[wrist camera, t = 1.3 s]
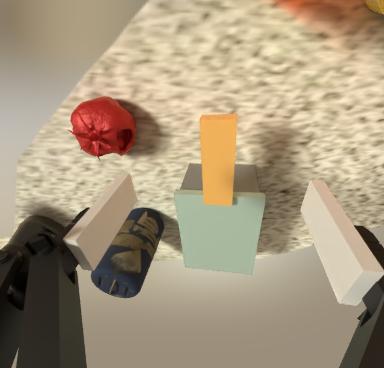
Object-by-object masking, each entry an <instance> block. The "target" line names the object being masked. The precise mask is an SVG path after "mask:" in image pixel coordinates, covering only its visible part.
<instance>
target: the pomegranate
mask: <svg viewBox="0 0 384 368" xmlns="http://www.w3.org/2000/svg"><path fill="white" fill-rule="evenodd" d="M71 123H72V125H73V132H72V131H70V130H69V131H70V132H71V133H72V134H73V135H75V137H76V139H77V140H78V142H79V144H80V146H81V149H82V150H83V151H85V152H86V153H89V154H91V155H93V156H97V157H98V158H99V156H103V155H105V154H110V153H117V154H119V155H120V156H123V155H124V154H126V153H127V152H128V151H129V150H130V149H131V147H132V145H133V143H134V140H135V137H136V125H135V120H134V118H133V116H132V115H131V114H130V113H129V112H128V111H127V110H126V109H124V108H123V107H121V106H120V105H119V104H118V102H117V101H116V100H114V99H112V98H110V97H100V98H96V99H93V100H89V101H86V102H83V103H81V104H80V105H78V107H77V108H76V109H75V110H74V111H73V113H72V115H71ZM99 160H100V159H99Z"/></svg>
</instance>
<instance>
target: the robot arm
mask: <svg viewBox="0 0 384 368" xmlns="http://www.w3.org/2000/svg"><path fill="white" fill-rule="evenodd" d="M137 201H138V200H137V197H136V193H135V190H134V187H133V183H132V180H131V176H130V173H121V174H120V175H119V176H118V177H117V178H116V179H115V180H114V182H113V183H112V184H111V185H110V186H109V187H108V188H107V189H106V191H105V192H104V193H103V194H102V195H101V196H100V197H99V199H98V200H97V201H96V202H95V203H94V204H93V205H92V206H91V208H86V209H84V210H83V211H81V212H80V213H79V214H78V215H77V216H76V217H75V219H73V221H72V222H71V223H70V224H69V225H68V226H67V227H66V228H63V227H62V226H61V225H59V224H58V223H56V222H54V221H52V220H50V219H48V218H45V217H41V216H30V217H28V218H26V219H25V220H24V221H23V222H22V223H21V224H20V225H19V227H18V229H17V230H16V232H15V233H14V235H13V236H12V238H11V239H10V241H9V243H8V244H7V245H6V246H5V247H3V248H2V249H1V250H0V368H11V367H12V364H13V361H14V358H15V356H16V353H17V350H18V347H19V350H18V357H17V366H16V368H87V366H86V355H85V345H84V335H83V327H82V316H81V306H80V297H79V286H78V276H77V271H76V269H75V268H76V267H77V265H78V264H79V265H80V266H81V268H82V269H84V270H91V271H94V270H95V268H96V267H97V265H98V264H99V262H100V260H101V259H102V257H103V256H104V254H105V252H106V251H107V249H108V247H109V246H110V244H111V243H112V241H113V239H114V238H115V236H116V235H117V233H118V231H119V230H120V228H121V226H122V225H123V223H124V222H125V220H126V218H127V217H128V215H129V213H130V212H131V210H132V209H133V207H134V205H135V204H136V202H137ZM300 211H301V213H302V216H303V218H304V220H305V223H306V225H307V228H308V230H309V232H310V235H311V237H312V240H313V242H314V245H315V247H316V249H317V252H318V254H319V257H320V259H321V262H322V264H323V266H324V269H325V271H326V274H327V276H328V278H329V281H330V283H331V286H332V288H333V291H334V293H335V295H336V298H337V300H338V303H341V304H348V305H355V306H356V305H358V303H360V301H361V300H363V302H364V304H365V306H366V307H367V309H366V310H365V311H364V312H363V313H362V314H361V315H360V316H359V317H358V318H357V319H359V320H360V321H359V324H358V326H357V328H356V331H355V333H354V335H353V337H352V340H351V342H350V344H349V347H348V349H347V351H346V353H345V356H344V358H343V360H342V363H341V365H340V367H339V368H384V248H383V246H382V245H381V244H379V241H378V240H377V239H376V237H375V236H374V234H373V233H371V232H370V231H369V230H368V229H366V228H365V227H364V226H356V225H353V224H352V222H351V221H350V220H349V218H348V217H347V215H346V214H345V212H344V211H343V209H342V208H341V206H340V205H339V203H338V202H337V200H336V199H335V197H334V196H333V194H332V193H331V191H330V190H329V188H328V187H327V185H326V184H325V182H324V181H323V180H311V179H310V182H309V185H308V188H307V191H306V194H305V197H304V200H303V203H302V206H301V209H300Z"/></svg>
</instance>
